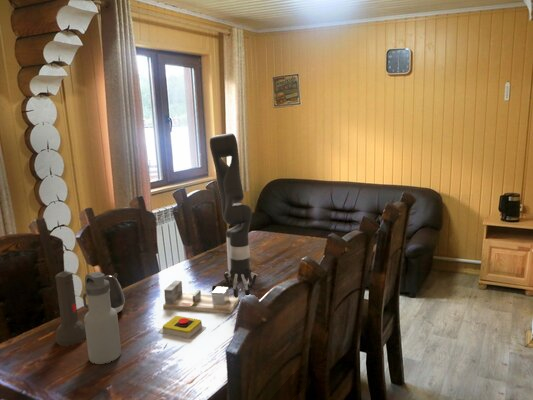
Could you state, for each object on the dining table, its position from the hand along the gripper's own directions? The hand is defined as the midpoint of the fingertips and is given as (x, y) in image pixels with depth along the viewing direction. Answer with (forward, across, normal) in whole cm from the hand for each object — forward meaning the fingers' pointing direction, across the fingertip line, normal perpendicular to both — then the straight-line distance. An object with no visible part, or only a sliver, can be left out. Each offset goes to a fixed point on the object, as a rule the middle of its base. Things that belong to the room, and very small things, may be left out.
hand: (241, 297), depth 171 cm
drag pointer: (+2, +19, +2) cm, 19 cm away
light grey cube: (+2, +9, 0) cm, 9 cm away
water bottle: (+4, +34, +42) cm, 54 cm away
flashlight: (+4, +52, +34) cm, 62 cm away
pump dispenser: (+4, +50, +12) cm, 52 cm away
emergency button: (+5, +16, +21) cm, 27 cm away
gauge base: (+4, +17, 0) cm, 18 cm away
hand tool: (+5, +13, -20) cm, 25 cm away
